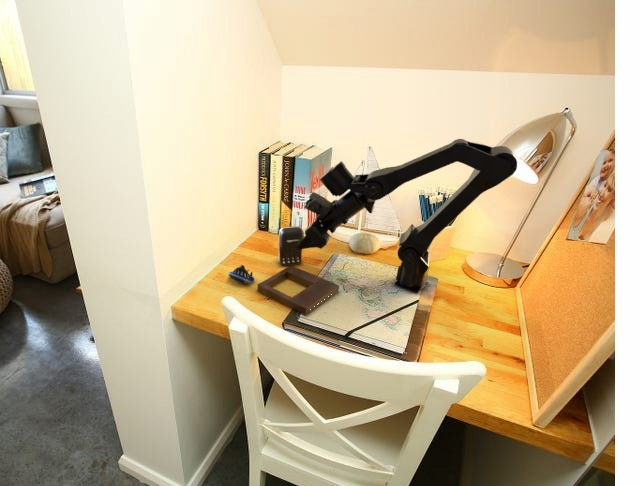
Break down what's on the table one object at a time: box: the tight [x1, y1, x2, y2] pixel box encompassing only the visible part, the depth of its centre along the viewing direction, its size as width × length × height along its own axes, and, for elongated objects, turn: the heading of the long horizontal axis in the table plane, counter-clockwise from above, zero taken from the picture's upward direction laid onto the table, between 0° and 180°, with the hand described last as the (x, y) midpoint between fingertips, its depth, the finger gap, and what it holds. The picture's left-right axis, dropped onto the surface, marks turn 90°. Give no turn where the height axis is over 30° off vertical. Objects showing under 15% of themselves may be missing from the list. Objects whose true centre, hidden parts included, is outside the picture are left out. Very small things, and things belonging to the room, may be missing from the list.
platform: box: [257, 265, 340, 317], centre depth 104 cm, size 16×14×2 cm
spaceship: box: [227, 264, 255, 285], centre depth 110 cm, size 7×6×5 cm
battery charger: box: [278, 225, 305, 267], centre depth 115 cm, size 7×4×11 cm, turn 97°
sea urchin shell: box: [348, 232, 381, 255], centre depth 123 cm, size 9×8×8 cm
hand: (301, 241), depth 113 cm, fingers open, 9 cm apart
